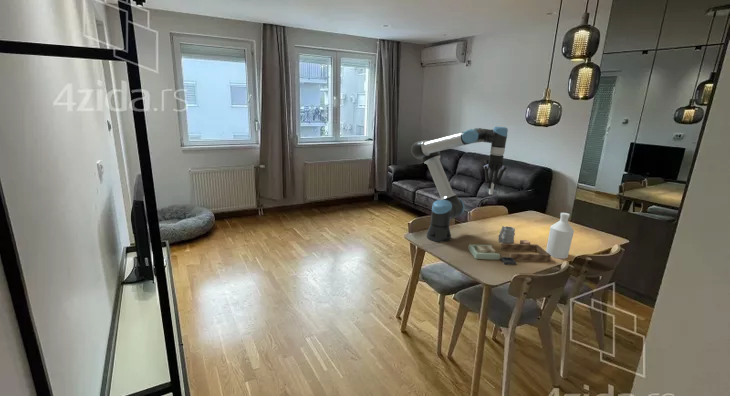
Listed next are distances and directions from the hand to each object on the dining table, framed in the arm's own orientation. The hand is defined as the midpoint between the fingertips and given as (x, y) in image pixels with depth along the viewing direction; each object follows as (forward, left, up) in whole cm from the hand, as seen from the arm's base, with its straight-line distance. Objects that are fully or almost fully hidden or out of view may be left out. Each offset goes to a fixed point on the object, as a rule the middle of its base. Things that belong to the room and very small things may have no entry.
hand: (490, 194), depth 205 cm
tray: (+5, -25, -32) cm, 40 cm away
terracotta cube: (+24, -4, -32) cm, 40 cm away
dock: (-5, -16, -32) cm, 36 cm away
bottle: (+39, -13, -32) cm, 52 cm away
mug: (+14, +1, -32) cm, 35 cm away
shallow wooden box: (+19, -15, -32) cm, 40 cm away
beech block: (-4, -16, -32) cm, 36 cm away
